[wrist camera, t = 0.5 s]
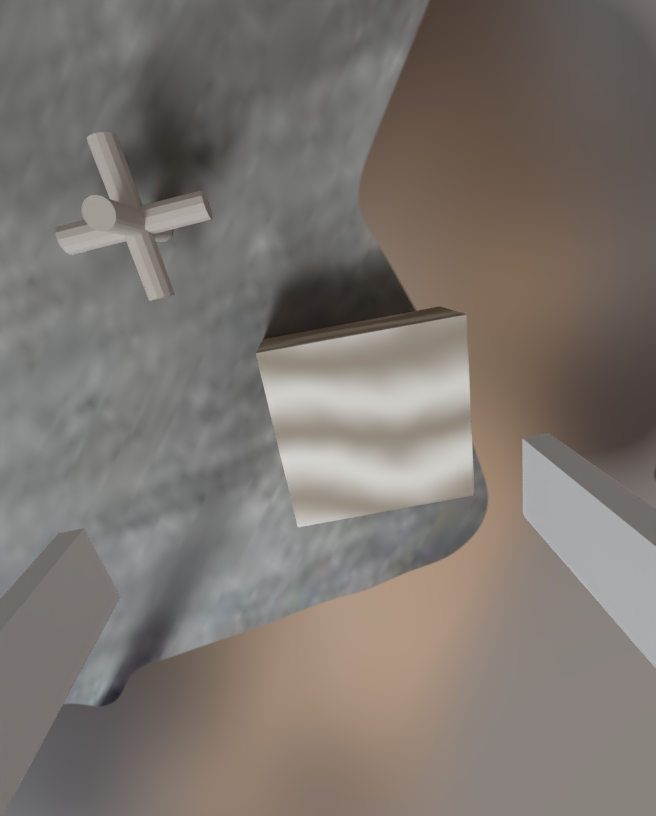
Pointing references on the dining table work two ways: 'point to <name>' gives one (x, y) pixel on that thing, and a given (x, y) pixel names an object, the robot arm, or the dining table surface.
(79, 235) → the pipe connector
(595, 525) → the robot arm
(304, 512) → the stand
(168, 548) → the dining table surface
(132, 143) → the dining table surface
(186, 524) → the dining table surface
